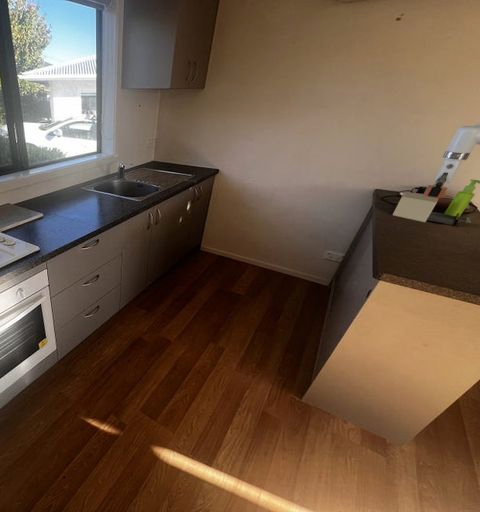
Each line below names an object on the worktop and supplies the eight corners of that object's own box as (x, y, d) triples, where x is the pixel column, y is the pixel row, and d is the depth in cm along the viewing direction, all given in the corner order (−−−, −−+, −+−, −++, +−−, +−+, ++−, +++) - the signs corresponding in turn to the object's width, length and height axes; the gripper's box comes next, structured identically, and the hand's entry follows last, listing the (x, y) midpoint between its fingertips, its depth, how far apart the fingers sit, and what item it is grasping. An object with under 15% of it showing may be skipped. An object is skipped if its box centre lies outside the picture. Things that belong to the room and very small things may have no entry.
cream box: (427, 216, 159) (439, 196, 153) (425, 222, 151) (436, 202, 145) (396, 210, 167) (405, 191, 162) (391, 216, 159) (401, 196, 154)
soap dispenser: (450, 218, 156) (475, 181, 146) (440, 213, 161) (463, 178, 152) (463, 219, 154) (489, 182, 145) (453, 215, 160) (477, 179, 150)
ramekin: (431, 194, 143) (436, 185, 140) (446, 198, 137) (451, 188, 135) (419, 194, 142) (424, 185, 140) (433, 198, 137) (438, 188, 135)
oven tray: (468, 221, 149) (471, 215, 147) (467, 228, 141) (471, 222, 139) (423, 213, 160) (426, 207, 158) (420, 219, 152) (423, 213, 150)
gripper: (467, 159, 123) (443, 200, 132) (468, 155, 133) (445, 193, 142) (442, 157, 128) (420, 196, 137) (444, 153, 138) (424, 189, 147)
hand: (433, 194), depth 139 cm, fingers closed on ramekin, 6 cm apart
